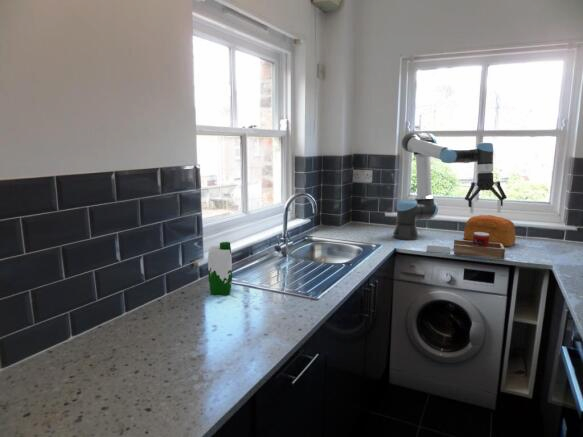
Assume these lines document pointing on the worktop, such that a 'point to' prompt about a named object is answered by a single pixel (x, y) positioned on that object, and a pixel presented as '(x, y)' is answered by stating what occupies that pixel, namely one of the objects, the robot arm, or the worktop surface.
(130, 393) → the worktop surface
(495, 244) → the wooden tray
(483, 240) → the canned food
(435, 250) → the mat
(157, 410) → the worktop surface
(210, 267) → the milk carton
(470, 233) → the bread
